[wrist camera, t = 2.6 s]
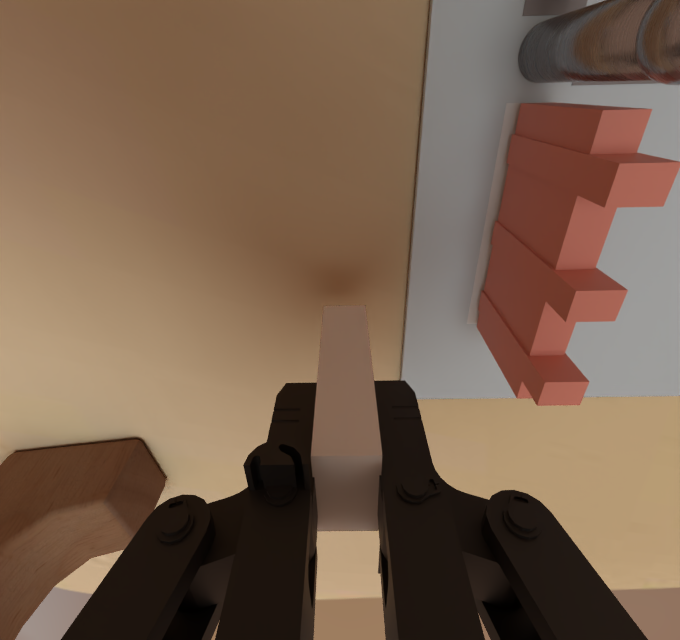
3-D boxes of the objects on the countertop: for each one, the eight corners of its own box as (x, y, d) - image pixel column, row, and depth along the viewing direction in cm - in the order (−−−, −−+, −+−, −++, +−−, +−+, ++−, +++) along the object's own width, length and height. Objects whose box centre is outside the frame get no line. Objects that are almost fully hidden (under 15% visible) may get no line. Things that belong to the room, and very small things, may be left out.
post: (522, 16, 13) (716, -61, 6) (583, 14, 12) (844, -66, 6) (509, 87, 14) (663, 85, 7) (566, 85, 14) (771, 83, 7)
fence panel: (517, 103, 14) (636, 113, 8) (557, 102, 14) (703, 112, 8) (474, 326, 19) (529, 427, 13) (503, 326, 18) (570, 426, 13)
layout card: (487, -717, 7) (495, -764, 7) (1369, -768, 7) (1429, -817, 7) (398, 394, 22) (400, 400, 21) (681, 390, 22) (687, 396, 21)
